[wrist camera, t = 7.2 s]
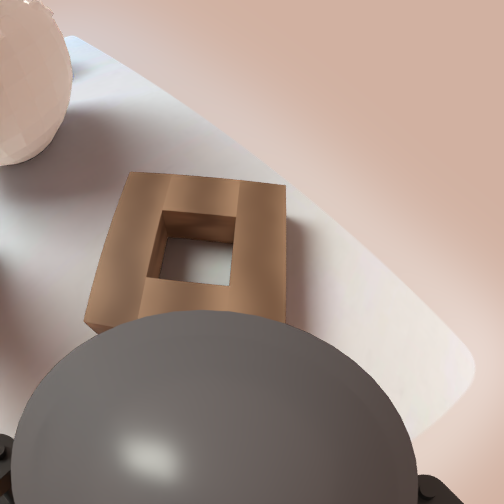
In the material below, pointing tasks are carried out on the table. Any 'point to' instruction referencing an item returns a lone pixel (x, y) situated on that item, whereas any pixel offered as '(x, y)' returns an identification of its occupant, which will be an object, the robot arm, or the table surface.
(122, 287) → the socket block
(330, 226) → the table surface
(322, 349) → the plug
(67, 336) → the table surface
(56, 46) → the white handled vase
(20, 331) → the table surface
